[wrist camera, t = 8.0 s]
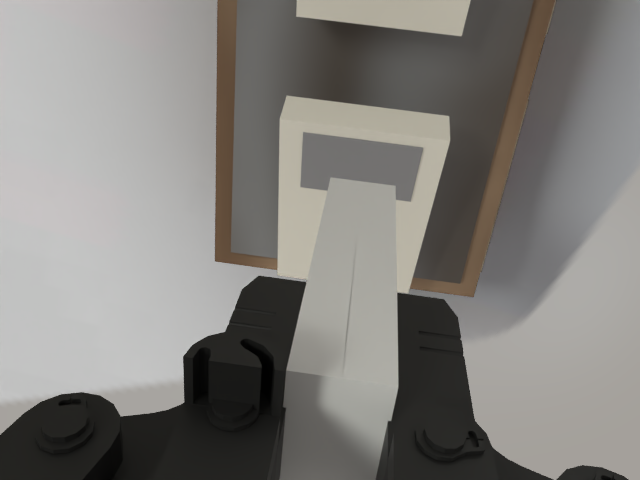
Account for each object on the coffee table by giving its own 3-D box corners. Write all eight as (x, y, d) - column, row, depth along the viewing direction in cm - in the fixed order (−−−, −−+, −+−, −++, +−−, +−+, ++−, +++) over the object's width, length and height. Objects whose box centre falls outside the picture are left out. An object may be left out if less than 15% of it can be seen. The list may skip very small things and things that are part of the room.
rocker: (282, 251, 26) (277, 276, 25) (286, 95, 20) (279, 120, 19) (409, 268, 26) (408, 294, 25) (449, 116, 20) (450, 141, 19)
